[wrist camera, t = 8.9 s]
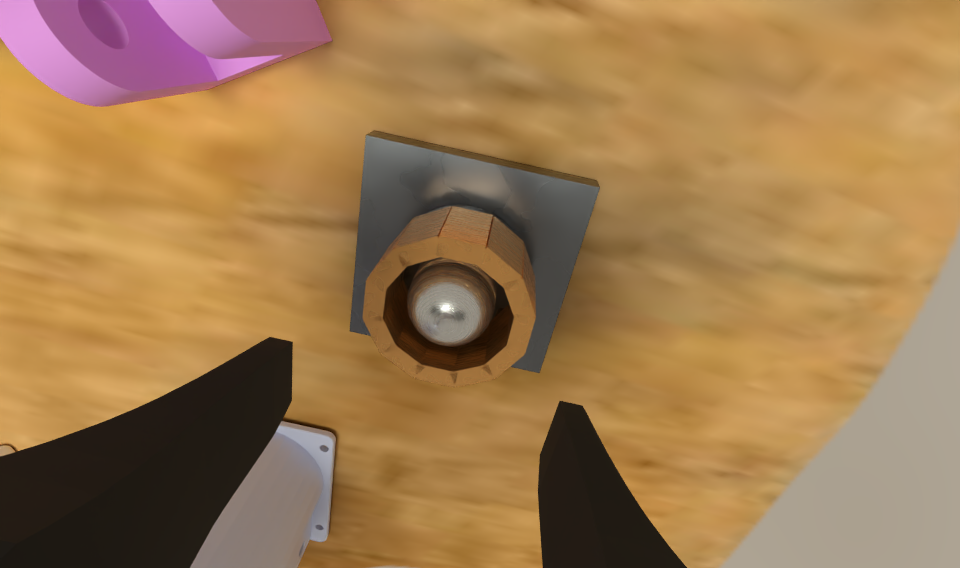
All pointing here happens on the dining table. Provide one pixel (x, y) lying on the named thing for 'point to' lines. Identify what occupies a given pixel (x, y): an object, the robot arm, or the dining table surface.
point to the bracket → (154, 43)
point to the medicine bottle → (6, 450)
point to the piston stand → (480, 187)
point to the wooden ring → (466, 242)
